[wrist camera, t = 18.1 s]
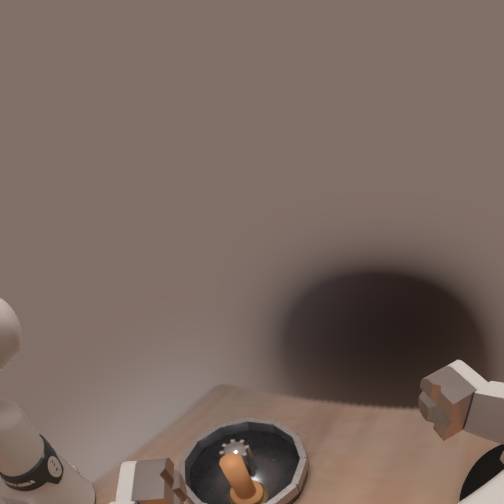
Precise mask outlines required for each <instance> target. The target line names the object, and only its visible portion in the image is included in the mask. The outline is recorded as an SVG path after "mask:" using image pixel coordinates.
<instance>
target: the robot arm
mask: <svg viewBox="0 0 504 504" xmlns="http://www.w3.org/2000/svg"><path fill="white" fill-rule="evenodd" d="M21 345H22V332H21V327H20V323H19V320H18V318H17V316H16V314H15V312H14V311H13V309H12V308H11V307H10V306H9V305H8V304H7V303H6V302H5V301H4V300H3V299H1V298H0V370H2V369H3V368H4V367H5V366H6V365H7V364H8V363H9V362H10V361H11V360H12V359H13V358H14V356H15V355H16V354H17V353H18V352H19V351H20V350H21ZM420 388H421V389H422V390H423V392H422V393H421V395H420V396H419V403H418V405H419V409H420V412H421V414H422V416H423V417H424V418H425V420H426V421H429V422H432V423H434V428H433V429H434V430H435V431H436V433H437V434H438V435H439V436H440V437H441V438H442V440H443V441H444V440H446V439H448V438H450V437H451V436H453V435H455V434H457V433H458V432H460V431H462V430H463V429H464V430H463V431H466V432H469V433H471V434H474V435H477V436H480V437H482V438H485V439H488V440H491V441H494V442H497V443H500V444H503V445H504V383H501V382H494V381H490V382H489V383H488V382H487V381H486V380H484V379H483V378H482V377H481V376H480V375H479V374H477V373H476V372H475V371H474V370H472V369H471V368H470V367H469V366H468V365H466V364H465V363H464V362H463V361H461V360H457V361H455V362H453V363H451V364H449V365H447V366H446V367H443V368H442V369H440V370H438V371H436V372H434V373H432V374H431V375H429V376H427V377H425V378H423V379H422V381H421V385H420ZM500 460H501V461H502V462H503V464H504V451H503V453H502V455H501V458H500ZM0 476H1V482H0V496H1V498H2V499H3V500H4V501H5V502H6V504H94V502H95V492H94V489H93V486H92V485H91V483H90V482H89V481H88V480H87V479H85V478H84V477H83V476H82V475H80V472H79V470H78V469H77V468H76V467H75V466H74V465H72V464H69V463H68V462H67V461H66V460H65V459H64V458H63V457H62V456H61V455H60V454H59V453H57V451H56V450H54V449H53V448H52V447H51V445H50V443H49V442H48V441H47V440H46V439H45V438H44V437H43V436H42V435H40V434H38V433H37V431H36V430H35V429H34V427H33V426H32V424H31V423H30V422H29V420H28V419H27V417H26V416H25V415H24V413H23V412H22V410H21V409H20V407H19V406H17V405H16V404H15V403H14V402H12V401H10V400H8V399H5V398H0ZM186 498H187V489H186V485H185V481H184V479H183V477H182V475H181V474H180V472H178V471H176V470H174V464H173V462H172V461H171V460H170V458H164V459H154V460H142V461H130V462H123V464H122V465H121V468H120V474H119V480H118V486H117V493H116V500H115V502H111V503H110V504H184V503H183V502H184V501H185V499H186ZM457 504H504V470H503V471H501V472H500V473H499V474H498V475H496V476H495V477H494V478H492V479H491V480H490V481H488V482H487V483H486V484H484V485H483V486H482V487H480V488H479V489H477V490H476V491H475V492H473V493H472V494H470V495H469V496H467V497H466V498H464V499H463V500H461V501H460V502H458V503H457Z"/></svg>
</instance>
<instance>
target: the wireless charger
mask: <svg viewBox="0 0 504 504" xmlns="http://www.w3.org/2000/svg"><path fill="white" fill-rule="evenodd" d="M503 451H504V445H503V444H502V445H499V446H497V447H495V448H493V449H492V450H490V451H488V452H487V453H486V454H484V455H483V456H482V457H481V458H480V459H479V460H478V461H477V462H476V463H475V465H474V466H473V467H472V469H471V470H470V472H469V474H468V476H467V478H466V480H465V482H464V484H463V487H462V490H461V494H460V501H461V500H463V499H464V498H466V497H467V496H469V495H470V494H472V493H473V492H475V491H476V490H477V489H479V488H480V487H482V486H483V485H484V484H486V483H487V482H488V481H490V480H491V479H492V478H494V477H495V476H496V475H498V474H499V473H500V472H501V471H503V470H504V464H503V462H502V461H501V460H500V458H501V455H502V453H503Z"/></svg>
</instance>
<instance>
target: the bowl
mask: <svg viewBox="0 0 504 504" xmlns="http://www.w3.org/2000/svg"><path fill="white" fill-rule="evenodd" d="M230 453H235V454H238V455H240V456H241V458H242V460H243V462H244V464H245V466H246V469H247V471H248V473H249V475H250V477H251V479H252V480H255V481H257V482H259V483H260V484H261V486H262V488H263V490H264V499H263V501H262V502H261V503H260V504H292V503H293V502H294V501H295V500H296V499H297V498H298V496H299V495H300V493H301V492H302V490H303V488H304V486H305V483H306V479H307V471H308V467H309V466H308V460H307V456H306V453H305V451H304V448H303V446H302V443H301V441H300V438H299V435H298V434H297V433H295V432H294V431H292V430H290V429H289V428H287V427H286V426H284V425H282V424H281V423H279V422H278V421H275V420H267V419H258V418H249V417H248V418H247V417H246V418H242V419H238V420H234V421H230V422H225V423H221V424H219V425H218V424H217V425H216V426H214V427H213V428H211V429H210V430H208V431H206V432H205V433H203V434H202V435H200V436H198V437H197V438H195V440H193V441H192V443H191V444H190V446H189V447H188V449H187V450H186V452H185V453H184V455H183V456H182V458H181V459H180V462H179V472H180V474H181V475H182V477H183V479H184V481H185V485H186V489H187V496H188V497H189V498H190V499H191V500H192V502H193V503H194V504H235V503H234V501H233V500H232V498H231V496H230V490H231V488H232V486H231V485H230V483H229V481H228V480H227V478H226V476H225V474H224V472H223V471H222V469H221V467H220V465H219V462H220V459H221V458H222V457H223V456H224V455H226V454H230Z"/></svg>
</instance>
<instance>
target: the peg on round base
mask: <svg viewBox="0 0 504 504" xmlns="http://www.w3.org/2000/svg"><path fill="white" fill-rule="evenodd" d="M219 465H220V467H221V469H222V471H223V472H224V474H225V476H226V478H227V480H228V481H229V483H230V485H231V486H232V488H231V490H230V496H231V498H232V500H233V501H234V503H235V504H260V503H261V502H262V501H263V499H264V490H263V488H262V486H261V484H260V483H259V482H257V481H255V480H252V479H251V477H250V475H249V473H248V471H247V469H246V466H245V464H244V462H243V460H242V458H241V456H240V455H238V454H235V453H230V454H226V455H224V456H223V457H222V458H221V459H220V462H219Z"/></svg>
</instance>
